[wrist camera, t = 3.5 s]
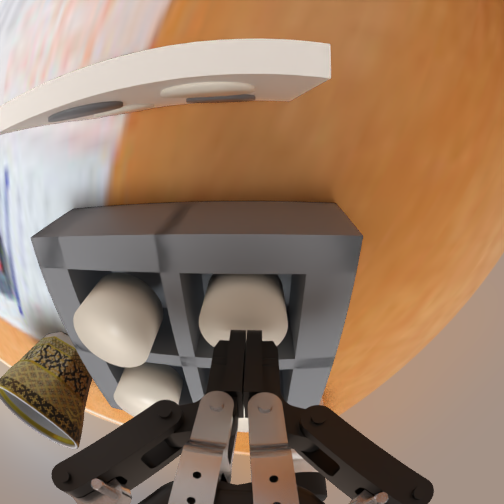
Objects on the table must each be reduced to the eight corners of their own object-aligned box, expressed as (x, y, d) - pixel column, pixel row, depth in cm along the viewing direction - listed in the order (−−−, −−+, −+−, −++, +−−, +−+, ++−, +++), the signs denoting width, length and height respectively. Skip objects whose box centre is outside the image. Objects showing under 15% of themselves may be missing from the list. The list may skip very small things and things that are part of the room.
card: (289, 85, 13) (330, 43, 5) (289, 104, 14) (331, 83, 6) (95, 104, 13) (-13, 114, 5) (95, 121, 14) (-12, 141, 6)
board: (335, 202, 16) (363, 235, 12) (306, 379, 24) (312, 422, 20) (73, 208, 17) (30, 237, 12) (126, 369, 24) (111, 407, 20)
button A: (285, 260, 15) (291, 291, 13) (281, 322, 18) (284, 356, 15) (203, 259, 16) (193, 290, 13) (210, 321, 18) (203, 354, 15)
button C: (155, 273, 14) (136, 308, 11) (169, 336, 16) (157, 372, 14) (87, 271, 14) (62, 300, 12) (108, 329, 16) (90, 360, 14)
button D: (176, 360, 17) (167, 395, 15) (187, 396, 19) (181, 427, 17) (118, 353, 17) (104, 383, 15) (135, 389, 19) (126, 417, 17)
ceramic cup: (33, 303, 21) (-18, 368, 12) (112, 348, 23) (74, 432, 14) (43, 366, 26) (13, 420, 18) (105, 401, 28) (83, 462, 19)
